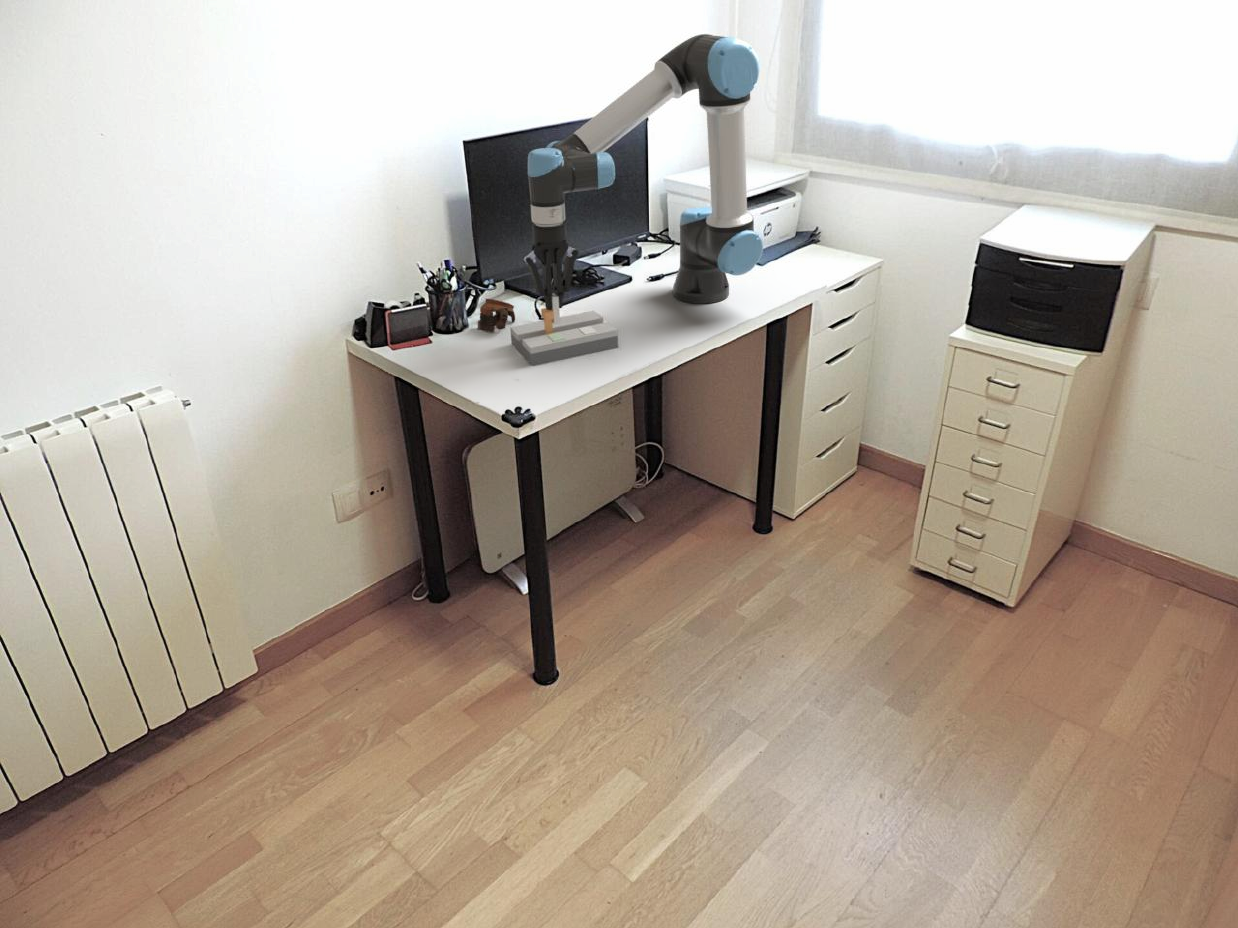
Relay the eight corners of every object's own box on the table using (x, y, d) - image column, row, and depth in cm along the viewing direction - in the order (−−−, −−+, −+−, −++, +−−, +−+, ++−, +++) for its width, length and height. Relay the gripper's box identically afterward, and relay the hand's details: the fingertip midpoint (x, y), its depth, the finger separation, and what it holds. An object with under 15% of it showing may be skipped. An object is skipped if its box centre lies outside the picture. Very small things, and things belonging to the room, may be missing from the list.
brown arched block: (469, 328, 228) (476, 296, 227) (502, 336, 233) (509, 305, 232) (487, 331, 218) (495, 297, 217) (521, 340, 223) (529, 307, 222)
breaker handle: (550, 333, 213) (548, 306, 210) (555, 337, 211) (553, 310, 208) (543, 334, 213) (540, 308, 209) (547, 339, 210) (545, 312, 207)
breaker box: (594, 327, 224) (593, 309, 222) (618, 347, 213) (617, 328, 211) (511, 344, 217) (510, 326, 214) (531, 365, 206) (530, 347, 203)
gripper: (527, 230, 193) (534, 332, 206) (582, 222, 198) (586, 322, 210) (515, 222, 199) (523, 321, 211) (569, 214, 204) (574, 311, 216)
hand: (555, 321), depth 211 cm, fingers closed
